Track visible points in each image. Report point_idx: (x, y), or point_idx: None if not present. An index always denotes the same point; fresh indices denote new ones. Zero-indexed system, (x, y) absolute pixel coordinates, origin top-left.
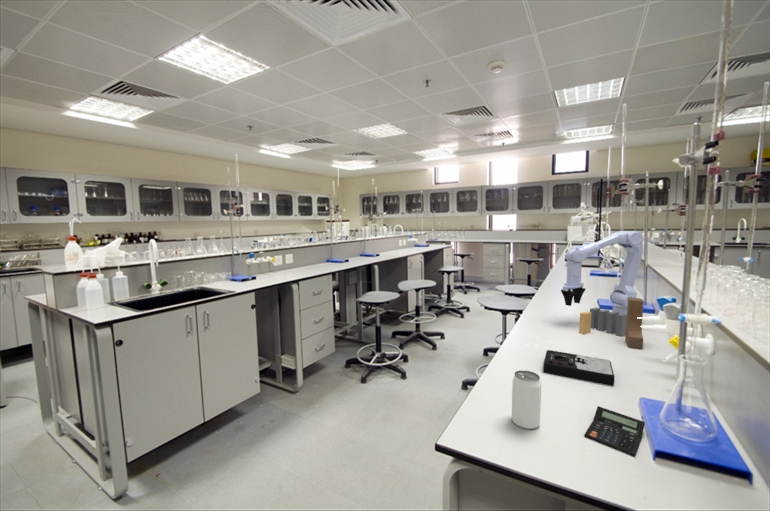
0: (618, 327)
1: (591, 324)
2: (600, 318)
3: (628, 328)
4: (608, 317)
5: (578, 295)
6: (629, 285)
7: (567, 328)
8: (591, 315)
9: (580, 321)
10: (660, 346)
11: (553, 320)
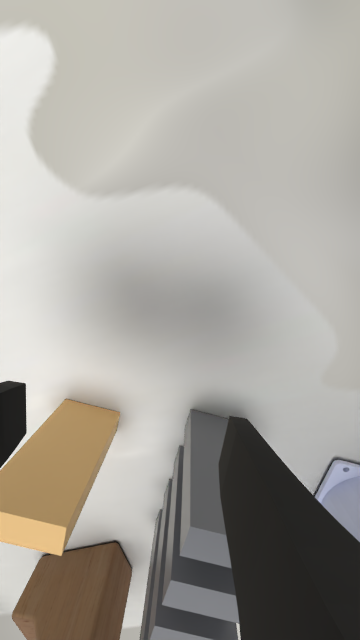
0: (151, 562)
1: (187, 435)
2: (171, 523)
3: None
4: (157, 582)
5: (253, 605)
6: None
7: (92, 334)
8: (187, 482)
9: (22, 449)
10: (140, 612)
11: (198, 205)
